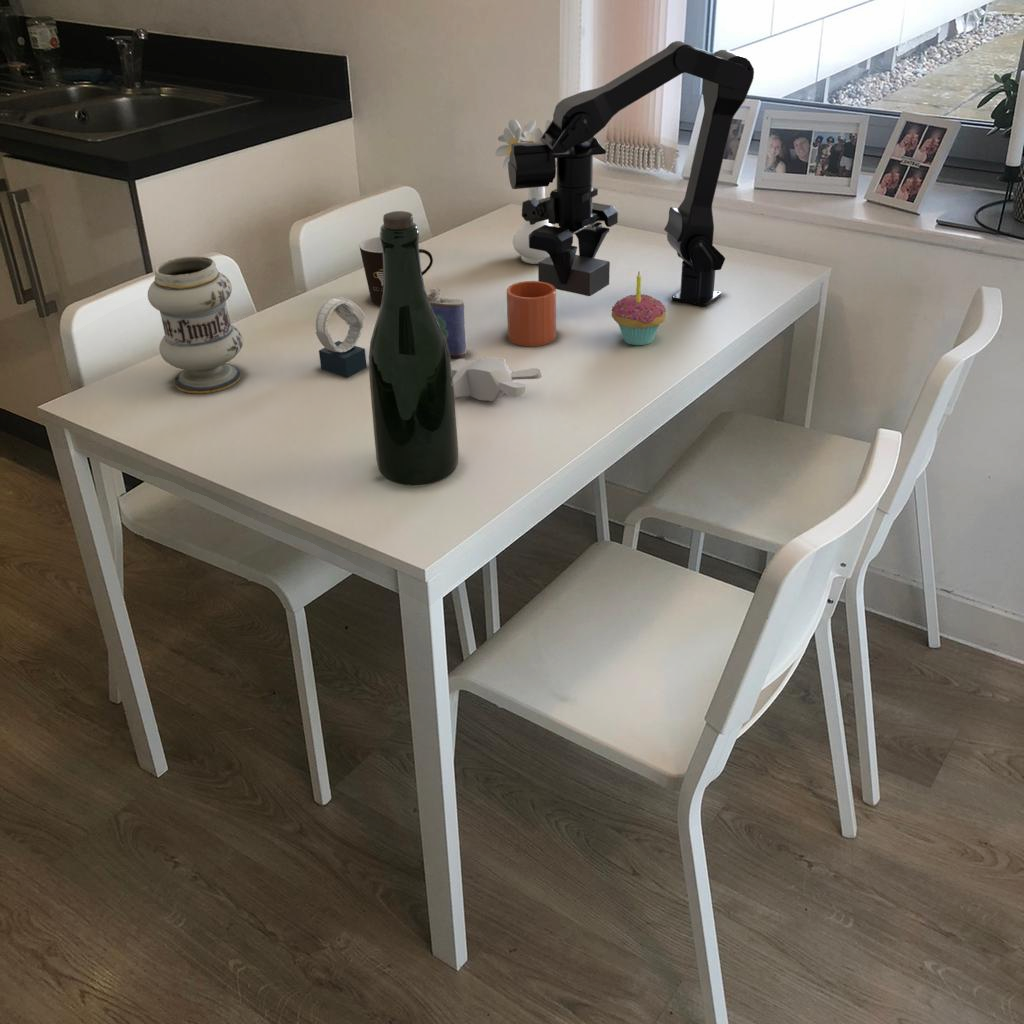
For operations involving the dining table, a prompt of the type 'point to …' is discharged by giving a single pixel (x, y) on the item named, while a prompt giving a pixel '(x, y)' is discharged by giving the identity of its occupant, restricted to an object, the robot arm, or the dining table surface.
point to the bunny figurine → (489, 378)
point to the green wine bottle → (410, 368)
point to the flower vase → (522, 234)
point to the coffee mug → (378, 267)
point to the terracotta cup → (531, 313)
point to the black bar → (577, 275)
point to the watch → (340, 354)
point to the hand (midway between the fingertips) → (574, 277)
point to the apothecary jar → (196, 323)
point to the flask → (450, 321)
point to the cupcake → (638, 316)
